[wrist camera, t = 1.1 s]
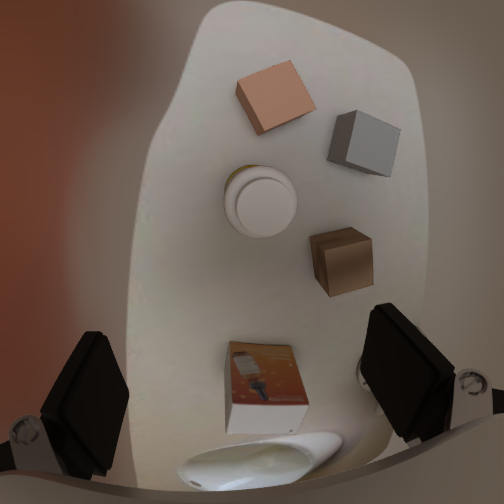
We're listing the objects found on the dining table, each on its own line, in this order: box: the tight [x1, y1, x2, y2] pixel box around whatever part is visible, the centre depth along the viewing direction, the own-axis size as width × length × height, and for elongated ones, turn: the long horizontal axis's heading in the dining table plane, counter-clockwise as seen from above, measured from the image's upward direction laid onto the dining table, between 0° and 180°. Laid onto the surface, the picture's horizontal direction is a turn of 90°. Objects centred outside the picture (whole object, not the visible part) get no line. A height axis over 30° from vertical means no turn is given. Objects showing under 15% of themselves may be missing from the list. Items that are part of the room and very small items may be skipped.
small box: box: [224, 342, 309, 435], centre depth 30 cm, size 8×6×10 cm
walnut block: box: [310, 227, 374, 297], centre depth 29 cm, size 5×5×5 cm
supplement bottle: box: [224, 165, 298, 239], centre depth 24 cm, size 6×6×10 cm
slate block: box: [327, 110, 401, 177], centre depth 26 cm, size 5×5×5 cm
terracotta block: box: [235, 60, 316, 136], centre depth 24 cm, size 5×5×5 cm
